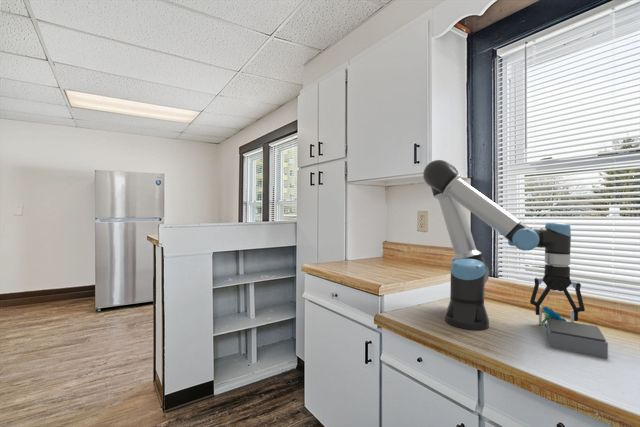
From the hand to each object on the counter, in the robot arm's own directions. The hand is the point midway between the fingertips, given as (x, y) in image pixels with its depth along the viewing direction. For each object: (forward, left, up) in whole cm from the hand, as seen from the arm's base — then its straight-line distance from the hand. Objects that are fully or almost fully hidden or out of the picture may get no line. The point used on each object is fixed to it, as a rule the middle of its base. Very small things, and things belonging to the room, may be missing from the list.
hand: (555, 326), depth 119 cm
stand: (+4, -15, 0) cm, 16 cm away
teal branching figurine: (0, 0, -1) cm, 1 cm away
